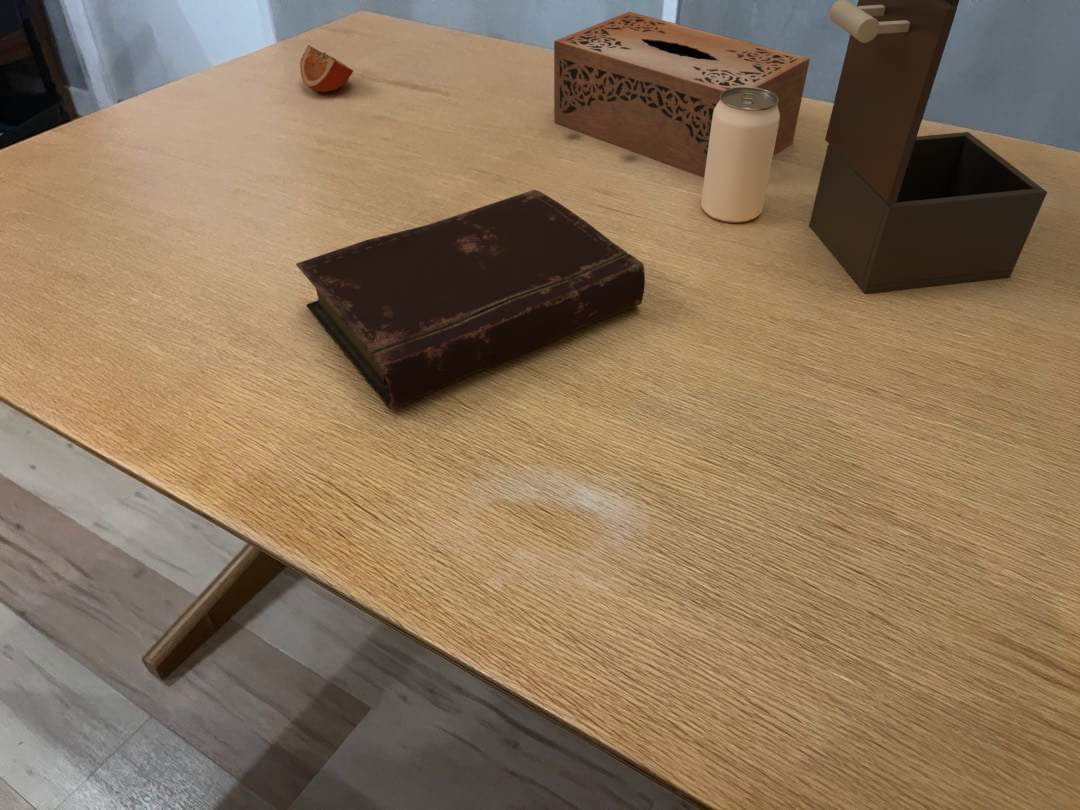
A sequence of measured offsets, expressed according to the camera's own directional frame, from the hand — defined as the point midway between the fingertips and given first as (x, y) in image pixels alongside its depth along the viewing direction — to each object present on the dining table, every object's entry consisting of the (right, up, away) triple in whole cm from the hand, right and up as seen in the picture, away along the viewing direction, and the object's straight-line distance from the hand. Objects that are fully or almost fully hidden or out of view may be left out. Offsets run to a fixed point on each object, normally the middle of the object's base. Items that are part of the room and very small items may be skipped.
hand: (922, 16), depth 80 cm
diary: (-43, -29, -5) cm, 53 cm away
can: (-17, -17, +7) cm, 25 cm away
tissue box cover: (-21, -4, +22) cm, 31 cm away
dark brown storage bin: (-1, -23, +1) cm, 23 cm away
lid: (-8, -11, -11) cm, 18 cm away
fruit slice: (-67, +6, +34) cm, 75 cm away
